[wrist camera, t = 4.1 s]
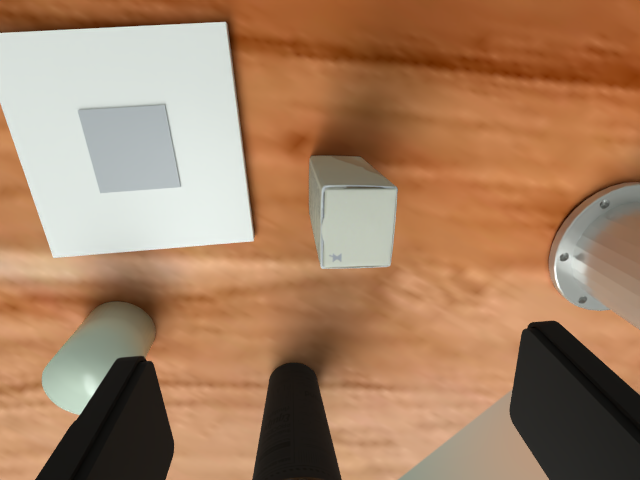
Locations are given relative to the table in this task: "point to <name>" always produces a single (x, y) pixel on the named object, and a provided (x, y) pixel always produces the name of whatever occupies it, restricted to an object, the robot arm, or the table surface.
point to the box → (351, 212)
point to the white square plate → (128, 136)
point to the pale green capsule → (96, 352)
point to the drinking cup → (295, 429)
